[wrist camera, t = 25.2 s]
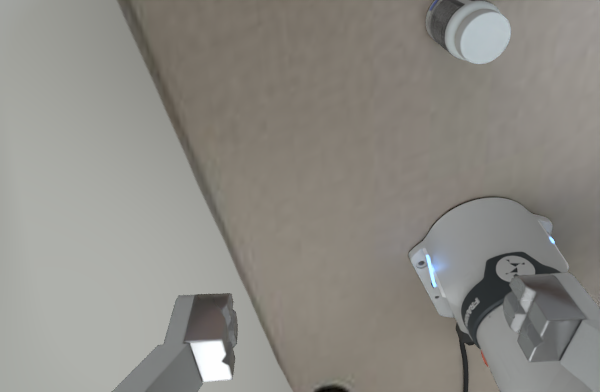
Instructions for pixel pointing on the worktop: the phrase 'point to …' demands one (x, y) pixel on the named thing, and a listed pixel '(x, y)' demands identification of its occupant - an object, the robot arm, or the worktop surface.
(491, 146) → the worktop surface
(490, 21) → the pill bottle
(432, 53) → the worktop surface
